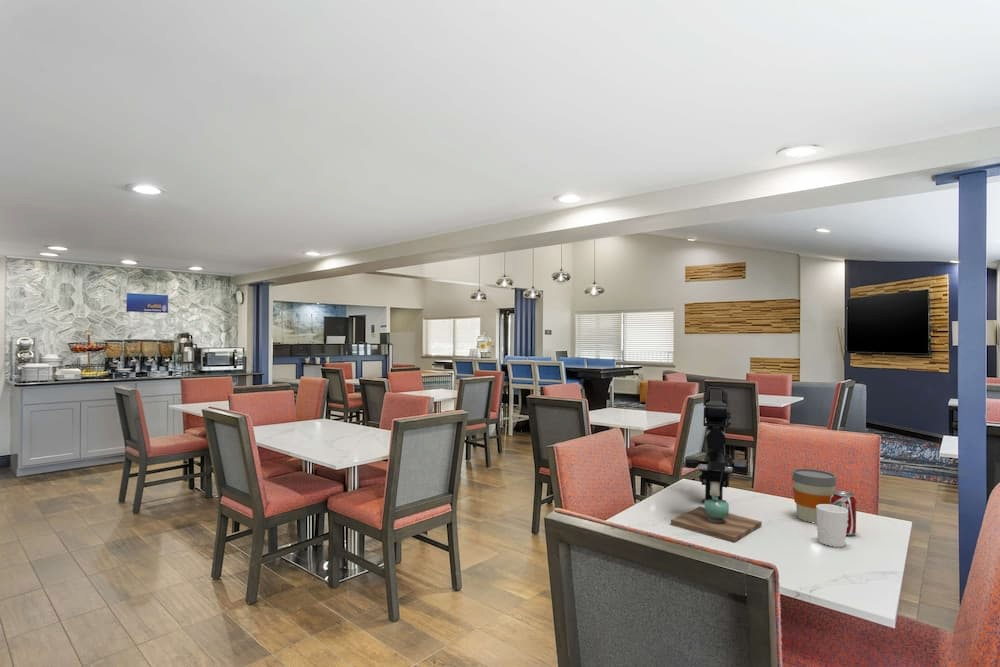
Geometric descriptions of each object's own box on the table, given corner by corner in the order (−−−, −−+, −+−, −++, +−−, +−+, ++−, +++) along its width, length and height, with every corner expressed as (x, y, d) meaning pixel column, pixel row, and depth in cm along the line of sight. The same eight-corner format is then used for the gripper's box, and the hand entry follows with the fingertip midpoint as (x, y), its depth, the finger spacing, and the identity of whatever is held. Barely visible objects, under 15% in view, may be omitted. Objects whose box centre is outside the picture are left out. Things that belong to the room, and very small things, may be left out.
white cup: (845, 550, 154) (846, 514, 154) (813, 543, 159) (814, 508, 159) (848, 542, 160) (849, 507, 160) (817, 535, 165) (818, 502, 165)
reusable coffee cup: (824, 514, 186) (825, 469, 185) (843, 527, 173) (844, 479, 173) (785, 512, 187) (786, 467, 187) (801, 524, 174) (802, 477, 174)
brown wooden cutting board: (699, 510, 186) (700, 501, 186) (761, 526, 172) (761, 516, 172) (670, 524, 172) (670, 514, 172) (735, 542, 158) (735, 531, 158)
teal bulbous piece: (702, 503, 183) (703, 480, 183) (725, 505, 181) (726, 482, 181) (704, 516, 170) (705, 491, 170) (729, 519, 168) (729, 494, 168)
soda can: (848, 529, 171) (849, 490, 171) (860, 537, 164) (861, 497, 164) (825, 528, 172) (826, 489, 172) (836, 536, 165) (837, 496, 165)
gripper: (686, 445, 176) (685, 494, 176) (749, 449, 170) (749, 500, 170) (685, 439, 186) (684, 485, 186) (745, 443, 181) (744, 490, 181)
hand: (714, 490), depth 181 cm, fingers closed on teal bulbous piece, 3 cm apart
